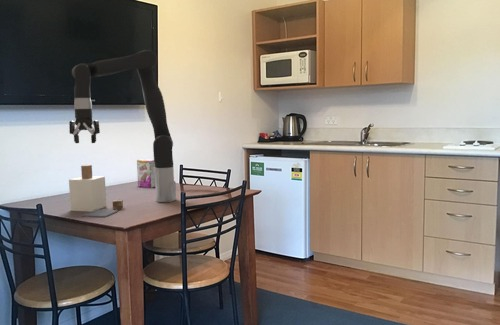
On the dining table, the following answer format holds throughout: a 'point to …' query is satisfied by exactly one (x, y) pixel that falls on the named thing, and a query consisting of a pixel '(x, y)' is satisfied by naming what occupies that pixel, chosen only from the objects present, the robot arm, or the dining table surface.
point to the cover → (87, 191)
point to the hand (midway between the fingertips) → (85, 143)
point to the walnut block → (117, 204)
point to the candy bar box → (146, 173)
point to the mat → (100, 213)
